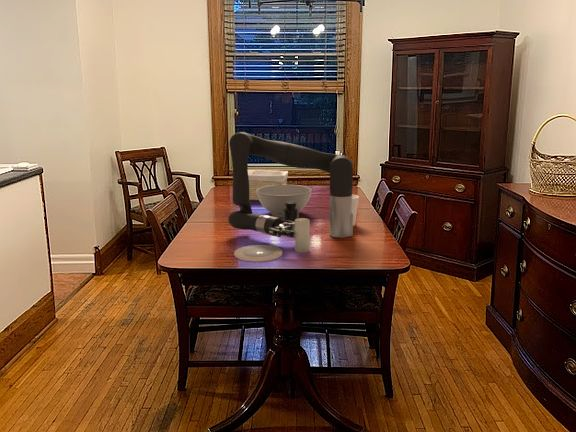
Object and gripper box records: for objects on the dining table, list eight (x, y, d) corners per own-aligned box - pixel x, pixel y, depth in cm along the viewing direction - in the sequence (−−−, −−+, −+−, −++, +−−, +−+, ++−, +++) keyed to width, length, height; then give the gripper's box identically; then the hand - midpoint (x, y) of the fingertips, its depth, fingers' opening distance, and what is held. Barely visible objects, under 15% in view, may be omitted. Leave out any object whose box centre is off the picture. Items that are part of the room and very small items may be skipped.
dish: (280, 246, 218) (280, 244, 217) (283, 260, 200) (283, 258, 200) (234, 247, 216) (234, 245, 216) (234, 262, 199) (233, 260, 199)
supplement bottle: (285, 231, 238) (284, 204, 235) (281, 227, 245) (280, 201, 242) (300, 230, 240) (300, 203, 237) (296, 226, 246) (295, 200, 243)
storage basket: (289, 196, 309) (288, 169, 306) (284, 202, 294) (284, 175, 290) (247, 195, 313) (246, 169, 309) (240, 201, 297) (240, 174, 294)
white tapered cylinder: (308, 247, 215) (308, 218, 212) (310, 252, 210) (310, 221, 207) (294, 248, 215) (294, 218, 212) (295, 252, 210) (295, 222, 207)
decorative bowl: (313, 208, 280) (313, 184, 277) (310, 221, 254) (310, 195, 251) (260, 207, 283) (260, 184, 280) (252, 220, 257) (251, 195, 254)
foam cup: (345, 221, 254) (345, 193, 251) (362, 224, 249) (362, 195, 245) (333, 225, 247) (333, 196, 244) (350, 228, 242) (351, 199, 238)
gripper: (257, 219, 215) (288, 226, 205) (281, 212, 226) (312, 219, 216) (257, 238, 217) (288, 245, 207) (281, 230, 228) (312, 237, 217)
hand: (300, 232), depth 211 cm, fingers open, 8 cm apart
